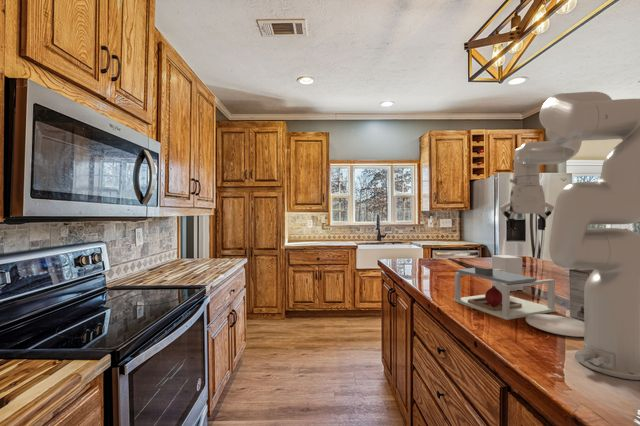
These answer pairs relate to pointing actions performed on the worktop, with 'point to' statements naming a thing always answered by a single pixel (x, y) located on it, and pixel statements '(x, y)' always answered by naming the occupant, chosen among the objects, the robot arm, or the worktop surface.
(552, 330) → the plate
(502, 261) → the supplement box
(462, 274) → the white tiered shelf stand
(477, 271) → the slide cover
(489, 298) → the onion
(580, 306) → the coffee box
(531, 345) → the worktop surface
